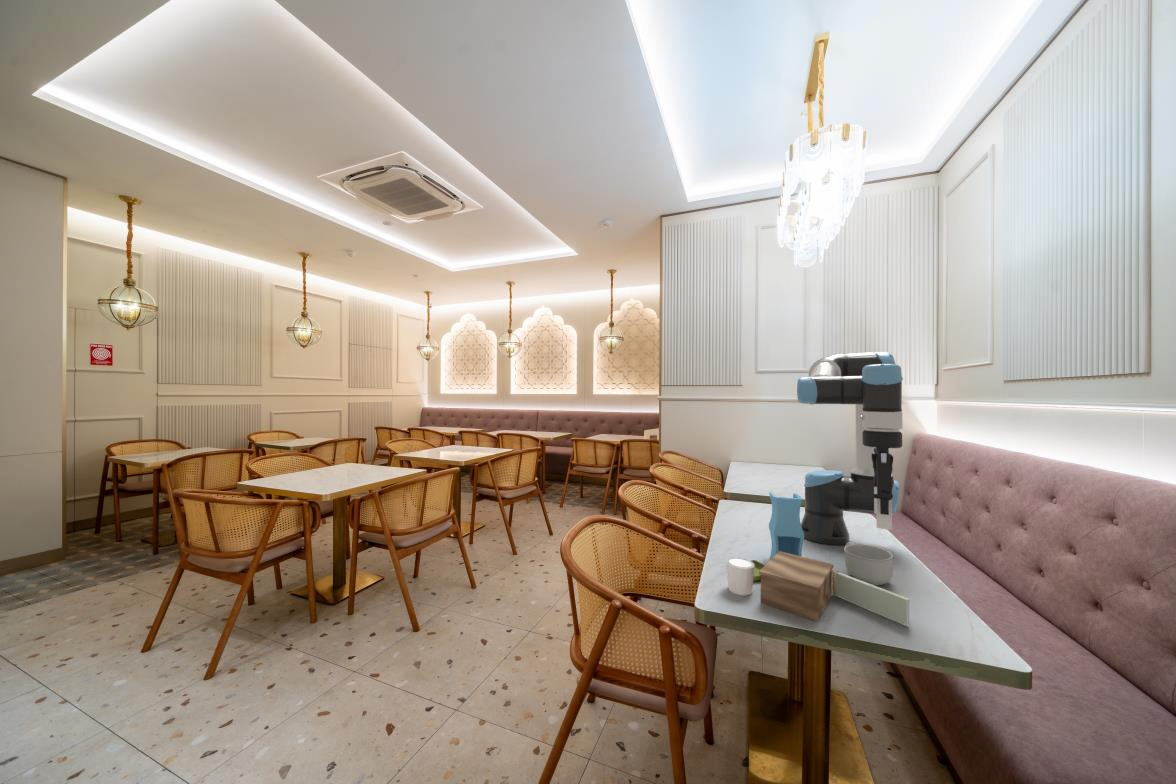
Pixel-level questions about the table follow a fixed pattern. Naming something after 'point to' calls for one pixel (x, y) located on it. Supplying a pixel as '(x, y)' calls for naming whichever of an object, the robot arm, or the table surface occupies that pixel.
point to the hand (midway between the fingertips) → (882, 521)
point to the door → (871, 597)
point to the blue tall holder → (786, 525)
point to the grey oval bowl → (869, 563)
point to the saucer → (757, 570)
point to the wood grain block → (796, 584)
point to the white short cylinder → (740, 575)
